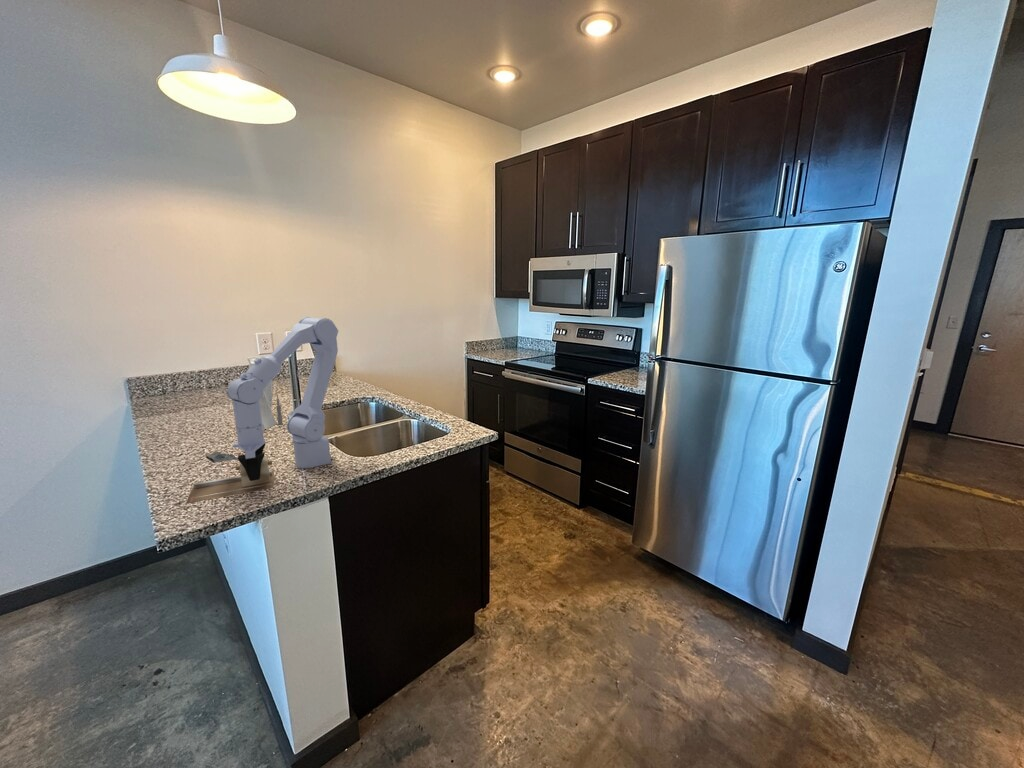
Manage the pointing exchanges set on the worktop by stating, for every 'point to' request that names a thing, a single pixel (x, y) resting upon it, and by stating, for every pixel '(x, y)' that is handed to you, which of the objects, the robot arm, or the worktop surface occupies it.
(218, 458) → the driftwood
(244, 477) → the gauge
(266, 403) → the skyscraper
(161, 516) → the worktop surface
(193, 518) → the worktop surface
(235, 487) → the board
